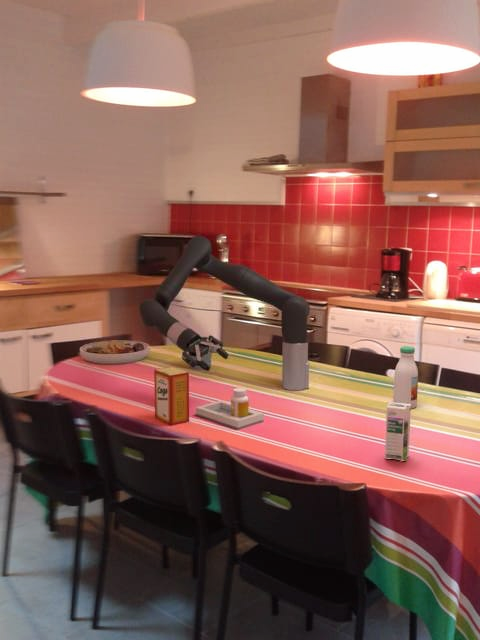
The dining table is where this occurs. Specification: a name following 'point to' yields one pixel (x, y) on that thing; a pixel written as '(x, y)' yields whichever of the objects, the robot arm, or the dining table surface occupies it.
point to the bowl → (114, 351)
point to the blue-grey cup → (204, 358)
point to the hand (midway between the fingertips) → (218, 362)
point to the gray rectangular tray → (228, 415)
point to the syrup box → (397, 431)
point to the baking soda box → (171, 395)
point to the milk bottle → (406, 378)
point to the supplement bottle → (239, 403)
